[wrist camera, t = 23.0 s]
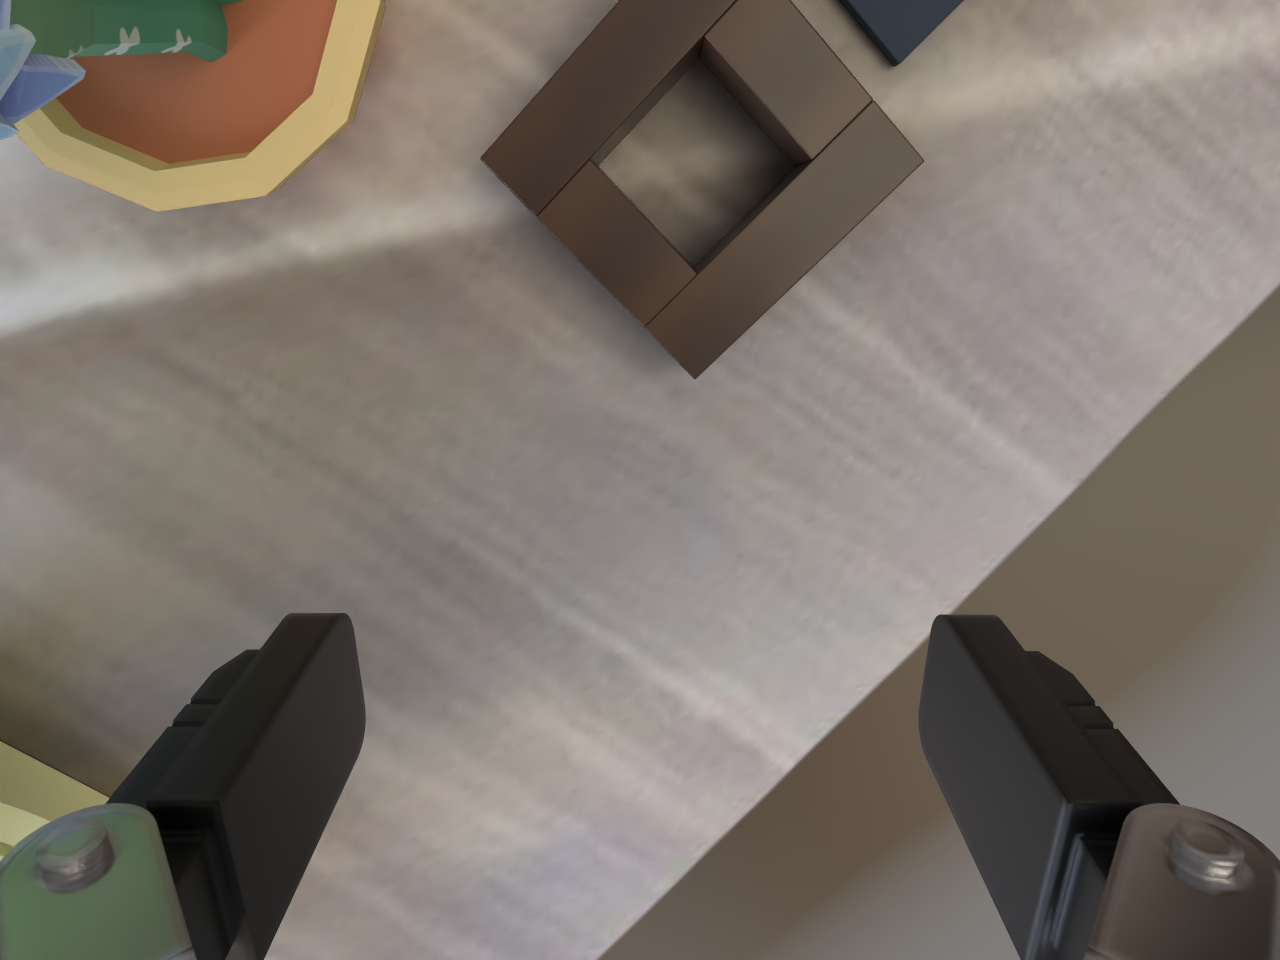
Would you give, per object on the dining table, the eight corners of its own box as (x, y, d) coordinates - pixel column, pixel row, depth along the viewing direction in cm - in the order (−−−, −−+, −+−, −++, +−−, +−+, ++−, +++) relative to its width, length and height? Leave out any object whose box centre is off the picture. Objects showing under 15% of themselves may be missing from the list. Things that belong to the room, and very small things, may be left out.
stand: (500, 165, 36) (479, 158, 32) (701, -59, 33) (707, -100, 29) (691, 361, 38) (694, 380, 34) (893, 167, 36) (924, 160, 31)
